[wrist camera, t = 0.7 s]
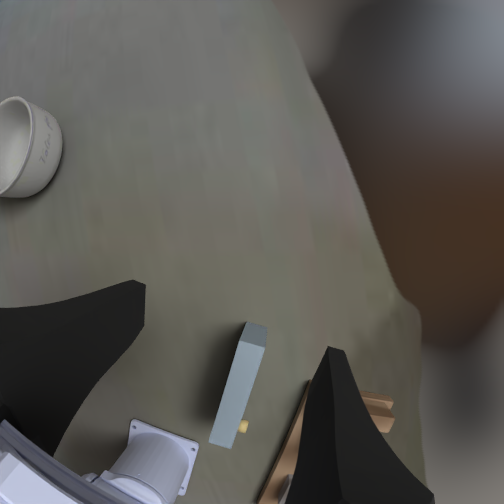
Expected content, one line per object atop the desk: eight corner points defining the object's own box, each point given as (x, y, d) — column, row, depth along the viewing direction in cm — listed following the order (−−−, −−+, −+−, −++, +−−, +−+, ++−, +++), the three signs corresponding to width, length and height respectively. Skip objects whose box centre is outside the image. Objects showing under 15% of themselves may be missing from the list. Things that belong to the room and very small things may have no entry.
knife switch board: (326, 510, 30) (330, 537, 25) (257, 500, 30) (254, 527, 25) (389, 396, 29) (405, 417, 24) (309, 379, 30) (314, 401, 25)
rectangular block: (246, 416, 30) (239, 451, 24) (220, 409, 31) (208, 442, 24) (275, 329, 30) (275, 350, 24) (246, 321, 30) (239, 340, 24)
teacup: (85, 168, 31) (41, 151, 23) (24, 221, 32) (-22, 216, 24) (56, 85, 32) (20, 60, 24) (2, 136, 32) (-37, 122, 24)
